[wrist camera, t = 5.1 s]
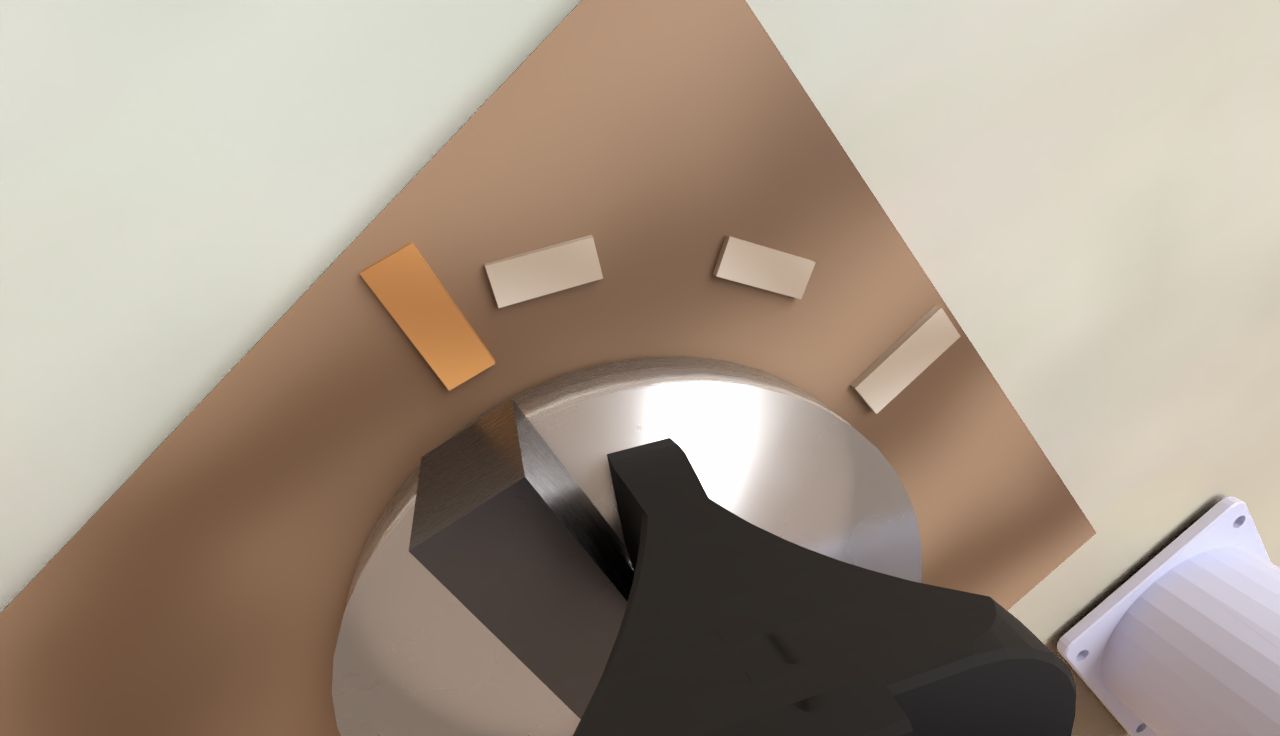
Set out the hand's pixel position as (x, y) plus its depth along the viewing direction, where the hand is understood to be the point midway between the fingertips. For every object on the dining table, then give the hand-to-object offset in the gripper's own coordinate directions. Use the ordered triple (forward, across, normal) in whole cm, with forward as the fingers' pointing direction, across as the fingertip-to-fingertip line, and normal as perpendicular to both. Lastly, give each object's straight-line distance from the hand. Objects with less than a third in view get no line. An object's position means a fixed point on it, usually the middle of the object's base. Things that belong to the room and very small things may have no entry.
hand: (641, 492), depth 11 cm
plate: (+3, 0, +4) cm, 5 cm away
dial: (+2, 0, +4) cm, 5 cm away
